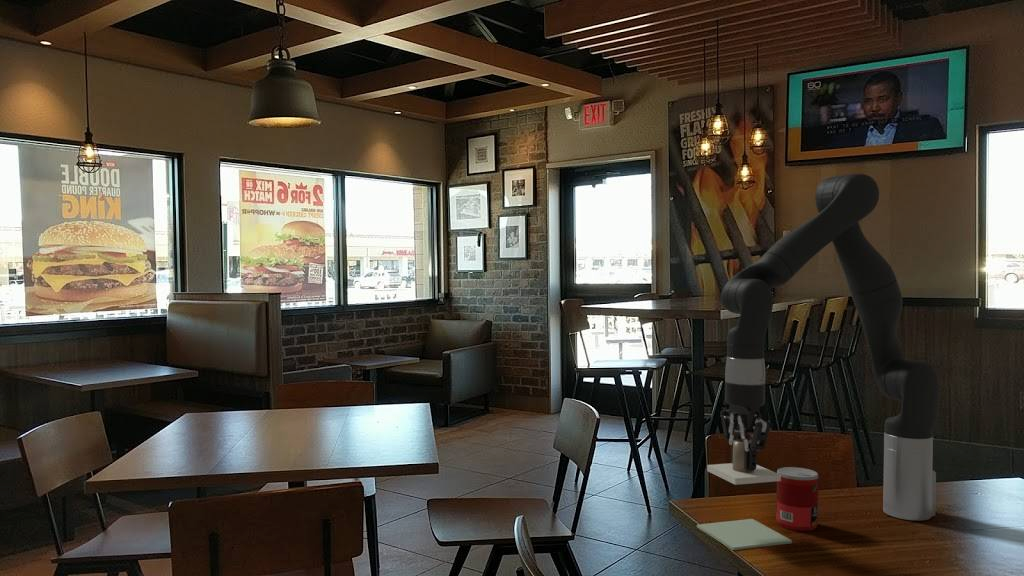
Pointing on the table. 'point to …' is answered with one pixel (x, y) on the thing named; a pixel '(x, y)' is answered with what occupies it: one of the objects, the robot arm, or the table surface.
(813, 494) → the canned food
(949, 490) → the table surface
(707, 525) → the mat
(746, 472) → the lid
